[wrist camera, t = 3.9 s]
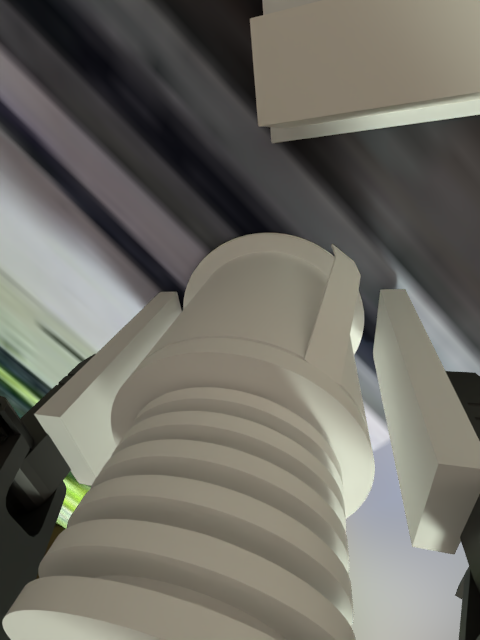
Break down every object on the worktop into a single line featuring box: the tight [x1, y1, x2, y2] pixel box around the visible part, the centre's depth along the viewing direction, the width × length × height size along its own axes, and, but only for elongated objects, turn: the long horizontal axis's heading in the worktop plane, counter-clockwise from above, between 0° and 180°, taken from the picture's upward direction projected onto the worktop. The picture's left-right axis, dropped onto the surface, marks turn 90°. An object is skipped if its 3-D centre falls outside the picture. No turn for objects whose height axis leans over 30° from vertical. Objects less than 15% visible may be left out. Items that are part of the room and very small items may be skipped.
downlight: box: [2, 233, 375, 640], centre depth 8 cm, size 8×7×10 cm
